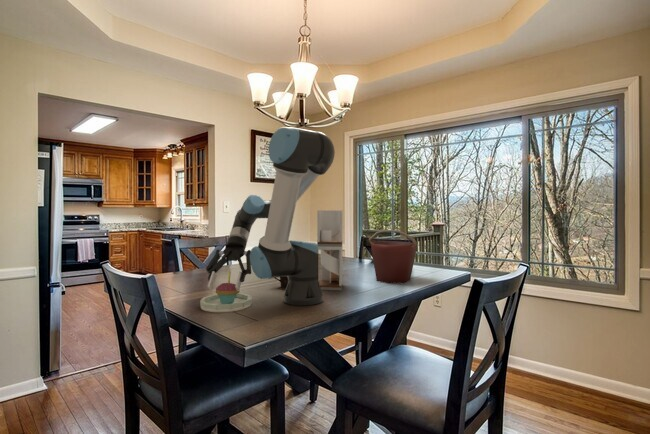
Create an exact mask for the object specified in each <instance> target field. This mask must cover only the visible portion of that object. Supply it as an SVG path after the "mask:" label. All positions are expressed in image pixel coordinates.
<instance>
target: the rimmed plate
mask: <svg viewBox="0 0 650 434" xmlns="http://www.w3.org/2000/svg"><path fill="white" fill-rule="evenodd" d="M199 301H200V302H199V306H200V309H201V310H202V311H204V312H207V313H208V312H209V313H232V312H238V311H243V310H245V309H248V308H249V307H251V306H252V295H249V294H247V293H243V292H242V293H241V292H239V293H238V294H237V295H236V297H235V299H234V302H233V303H230V304H223V303H220V299H219V296H218V295H217V293H215V294H209V295H207V296H204V297H202V298H201V299H200V300H199Z"/></svg>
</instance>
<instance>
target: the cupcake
mask: <svg viewBox="0 0 650 434" xmlns="http://www.w3.org/2000/svg"><path fill="white" fill-rule="evenodd" d="M231 272H232V271H231V270H229V271H228V275H227V276H228V279H227V282H222V283H220V284H219V285H217V286H216V288H215V294H217V295H218V296H219V299H220V303H223V304H230V303H233V302H234V299H235V297H236V295H237V294H238V293H241V292H240V289H239V291H237V290H236V288H235V286H236V283H232V282H231Z"/></svg>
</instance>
